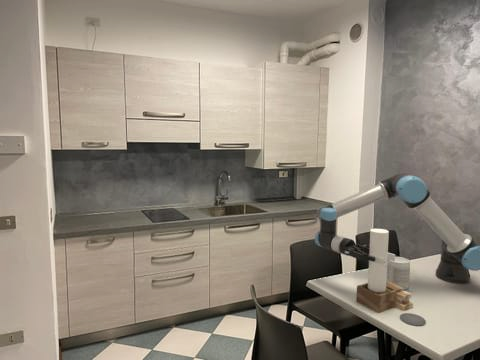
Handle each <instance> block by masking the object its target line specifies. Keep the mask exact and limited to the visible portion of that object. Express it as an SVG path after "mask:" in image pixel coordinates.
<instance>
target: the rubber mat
mask: <svg viewBox="0 0 480 360" xmlns="http://www.w3.org/2000/svg"><path fill="white" fill-rule="evenodd" d="M399 319H400V321H401V322H402V323H405V324H407V325H410V326H414V327H422V326H425V325H426V323H427V321H426V319H425V318H424V317H423V316H421V315H418V314H416V313H411V312H408V313H407V312H405V313H402V314H400V316H399Z"/></svg>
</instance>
